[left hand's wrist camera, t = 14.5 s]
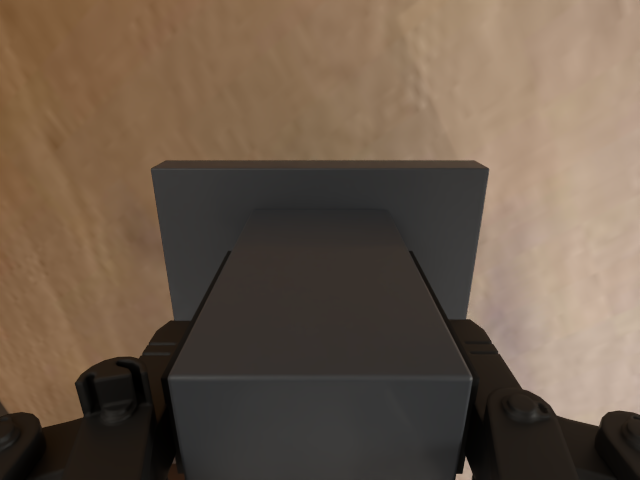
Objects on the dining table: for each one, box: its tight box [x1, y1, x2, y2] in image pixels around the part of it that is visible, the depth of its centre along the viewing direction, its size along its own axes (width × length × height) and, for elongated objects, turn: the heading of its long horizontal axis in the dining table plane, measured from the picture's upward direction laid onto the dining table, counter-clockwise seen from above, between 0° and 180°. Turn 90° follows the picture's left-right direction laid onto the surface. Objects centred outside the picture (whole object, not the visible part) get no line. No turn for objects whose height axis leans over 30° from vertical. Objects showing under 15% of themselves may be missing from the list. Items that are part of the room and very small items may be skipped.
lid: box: [151, 161, 489, 480], centre depth 14 cm, size 14×12×12 cm
